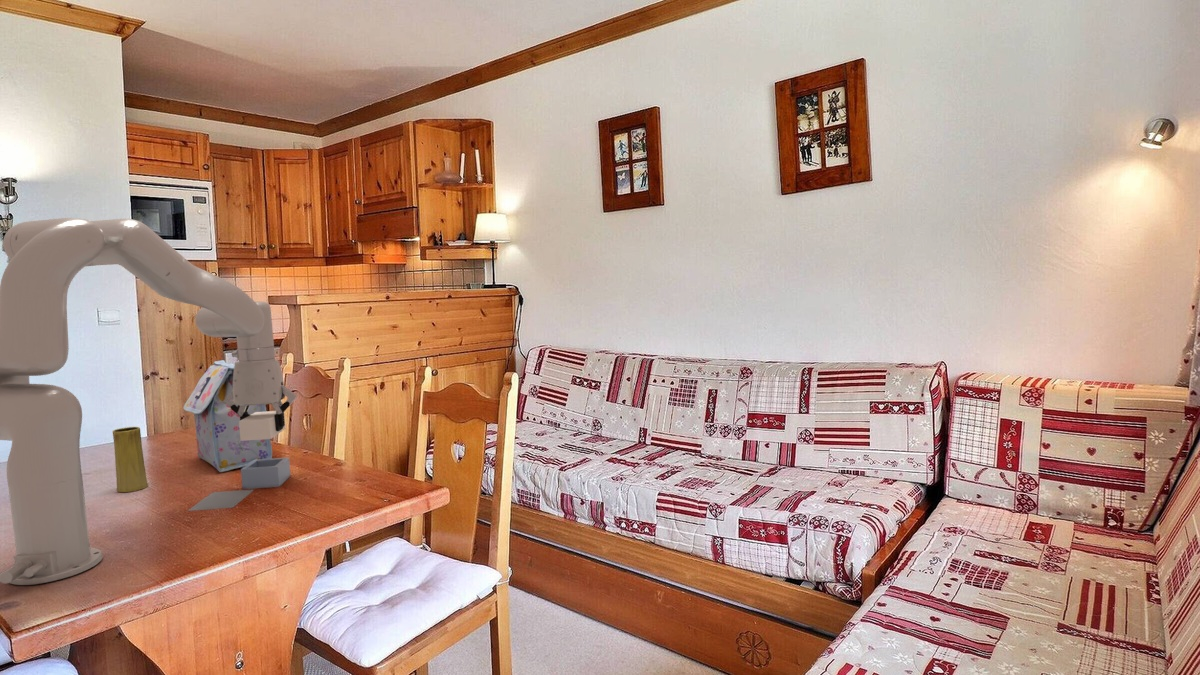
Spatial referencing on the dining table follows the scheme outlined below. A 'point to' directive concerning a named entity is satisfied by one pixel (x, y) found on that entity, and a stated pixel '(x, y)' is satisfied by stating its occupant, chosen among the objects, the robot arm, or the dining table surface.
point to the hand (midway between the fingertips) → (263, 430)
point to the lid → (258, 426)
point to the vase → (129, 460)
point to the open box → (265, 473)
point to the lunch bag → (222, 422)
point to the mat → (221, 500)
